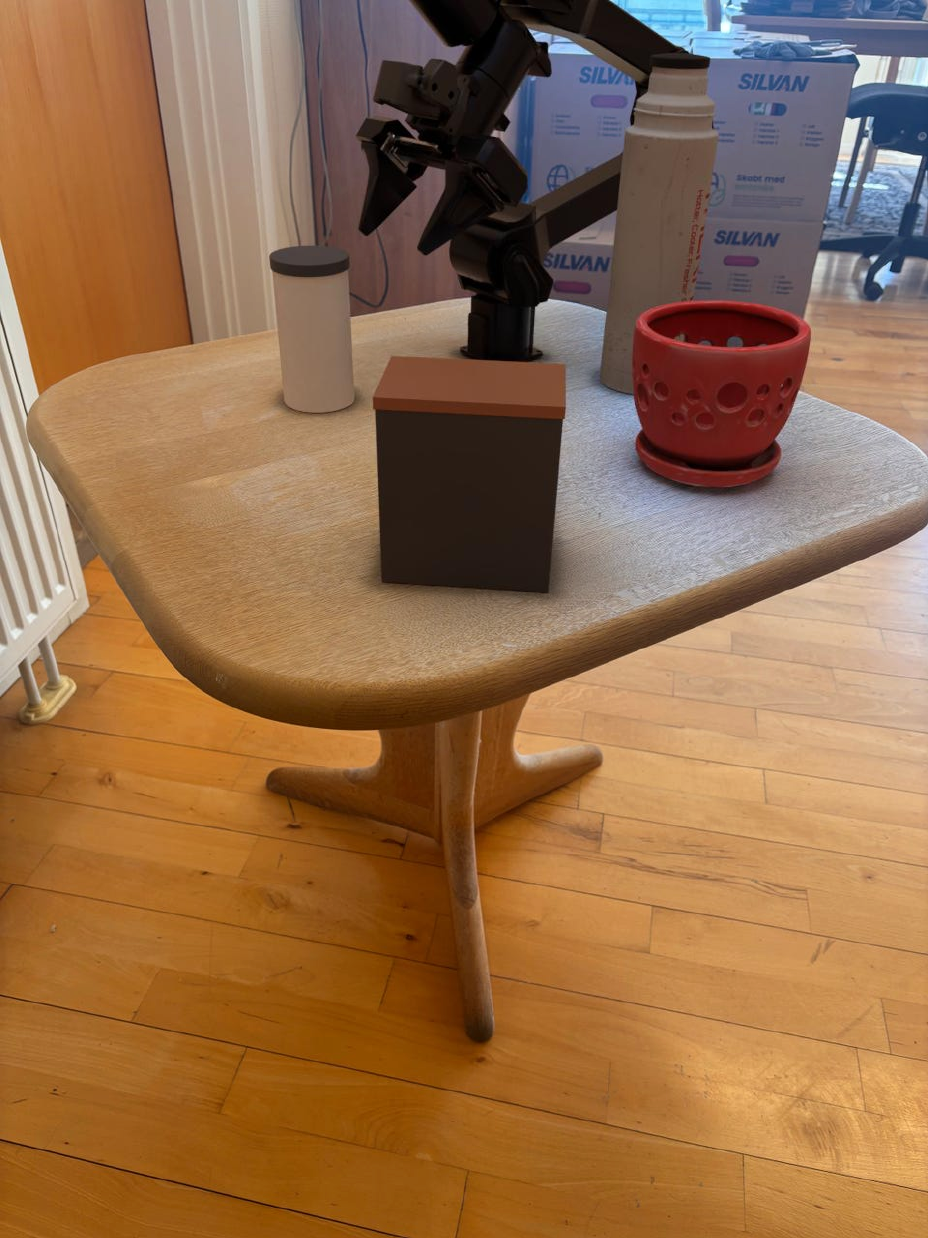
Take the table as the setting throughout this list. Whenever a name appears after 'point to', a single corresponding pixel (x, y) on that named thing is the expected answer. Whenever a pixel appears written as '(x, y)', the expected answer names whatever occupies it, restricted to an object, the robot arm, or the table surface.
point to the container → (314, 327)
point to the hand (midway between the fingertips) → (390, 242)
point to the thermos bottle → (659, 205)
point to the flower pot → (715, 389)
